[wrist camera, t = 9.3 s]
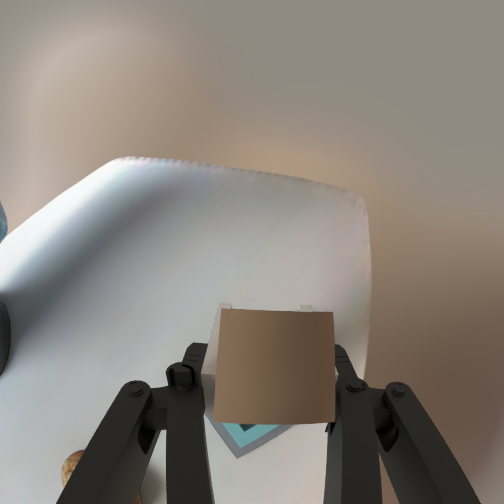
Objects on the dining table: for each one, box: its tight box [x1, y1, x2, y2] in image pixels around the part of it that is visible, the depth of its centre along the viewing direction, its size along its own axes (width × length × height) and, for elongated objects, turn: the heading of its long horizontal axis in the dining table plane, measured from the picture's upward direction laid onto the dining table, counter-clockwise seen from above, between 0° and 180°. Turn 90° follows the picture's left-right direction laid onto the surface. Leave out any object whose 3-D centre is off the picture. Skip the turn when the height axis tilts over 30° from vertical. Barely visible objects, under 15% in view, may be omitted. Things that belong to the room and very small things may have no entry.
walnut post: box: [213, 308, 335, 425], centre depth 14 cm, size 4×4×12 cm
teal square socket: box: [204, 412, 294, 458], centre depth 25 cm, size 12×12×5 cm
